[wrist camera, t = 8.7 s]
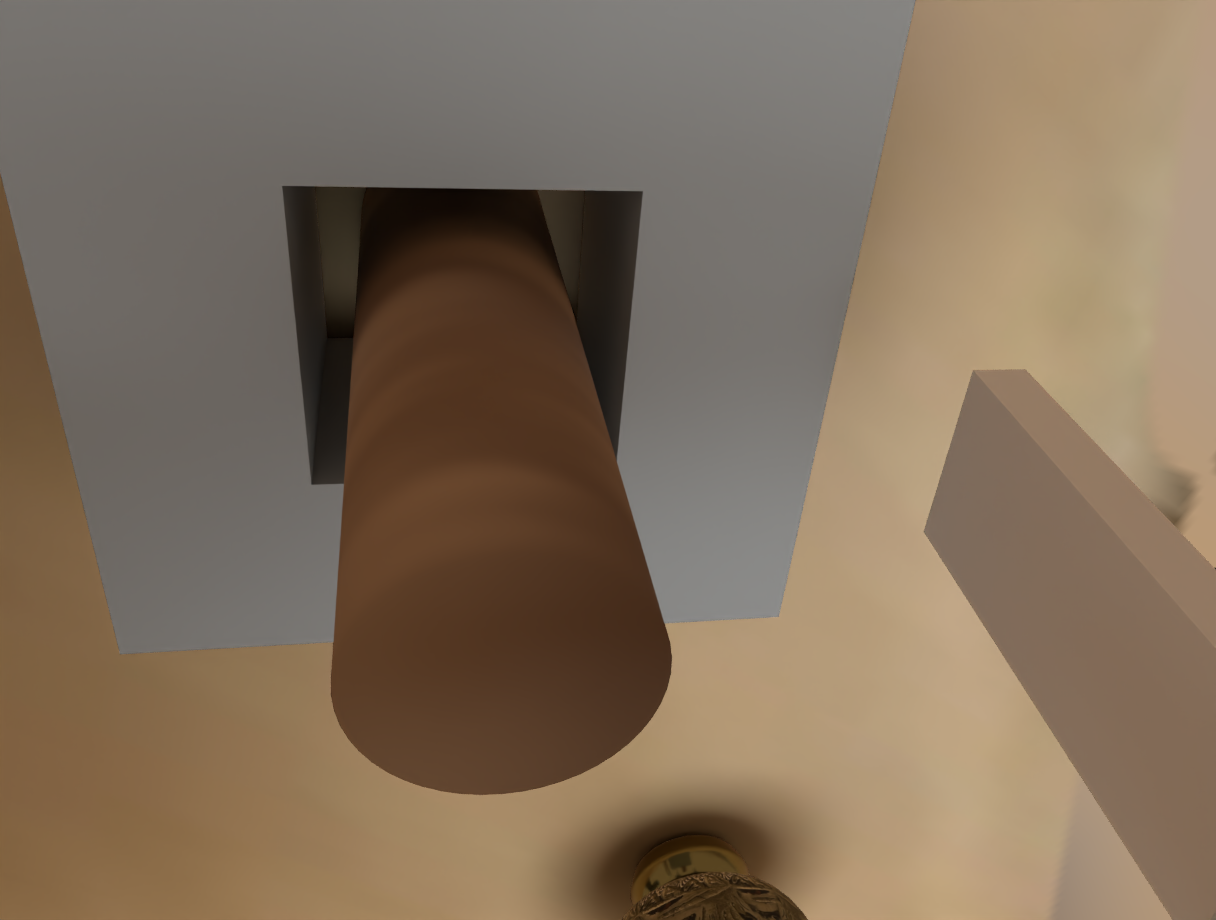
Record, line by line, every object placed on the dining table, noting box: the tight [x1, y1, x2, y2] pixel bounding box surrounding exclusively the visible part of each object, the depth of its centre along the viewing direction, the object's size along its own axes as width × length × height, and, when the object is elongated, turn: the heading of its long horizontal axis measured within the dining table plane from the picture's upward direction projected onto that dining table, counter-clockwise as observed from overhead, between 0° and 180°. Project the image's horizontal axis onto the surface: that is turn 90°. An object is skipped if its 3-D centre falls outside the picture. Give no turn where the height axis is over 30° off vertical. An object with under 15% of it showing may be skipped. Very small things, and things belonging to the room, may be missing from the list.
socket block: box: [0, 0, 916, 654], centre depth 18 cm, size 12×12×5 cm
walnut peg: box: [331, 187, 672, 795], centre depth 16 cm, size 3×3×12 cm
